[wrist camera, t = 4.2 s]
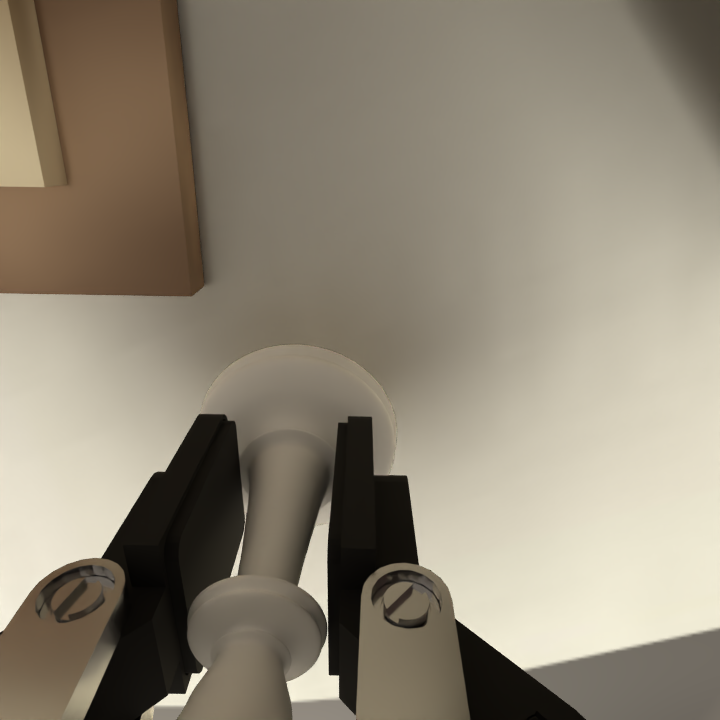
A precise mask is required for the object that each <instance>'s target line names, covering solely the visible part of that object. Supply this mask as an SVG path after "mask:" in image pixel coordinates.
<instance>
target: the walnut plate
mask: <svg viewBox="0 0 720 720" xmlns="http://www.w3.org/2000/svg"><path fill="white" fill-rule="evenodd" d="M202 287H204V276H203V266H202V256H201V245H200V235H199V225H198V214H197V204H196V194H195V183H194V173H193V163H192V153H191V142H190V132H189V122H188V111H187V101H186V91H185V80H184V70H183V60H182V50H181V39H180V29H179V19H178V8H177V0H0V293H21V294H82V295H142V296H193V295H194V294H195V293H196V292H198V291H199V290H200V289H201V288H202Z"/></svg>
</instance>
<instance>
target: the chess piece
mask: <svg viewBox="0 0 720 720" xmlns="http://www.w3.org/2000/svg"><path fill="white" fill-rule="evenodd" d="M200 414H225V415H226V416H227V419H228V421H235V423H236V429H237V440H238V451H239V461H240V473H241V483H242V493H243V504H244V512H245V513H247V515H246V524H245V532H244V539H243V548H242V554H241V560H240V565H239V570H238V576H234V577H230V578H226V579H223V580H220V581H218V582H216V583H214V584H212V585H210V586H209V587H207V588H206V589H204V590H203V591H202V592H201V593H200V594H199V595H198V596H197V597H196V598H195V600H194V601H193V603H192V605H191V607H190V609H189V613H188V618H187V626H188V629H187V639H188V644H189V647H190V649H191V651H192V653H193V655H194V656H195V658H196V659H197V660H198V661H199V662H200V663H201V664H202V665H203V666H204V667H205V668H206V669H208V671H207V672H206V674H205V675H204V676H203V678H202V679H201V680H200V682H199V683H198V684H197V686H196V687H195V689H194V690H193V692H192V694H191V696H190V697H189V699H188V701H187V703H186V705H185V707H184V709H183V710H182V712H181V714H180V715H179V717H178V718H177V720H292V707H291V701H290V696H289V692H288V688H287V683H286V682H287V681H290V680H293V679H295V678H297V677H299V676H301V675H302V674H304V673H305V672H306V671H308V670H309V669H310V668H311V667H312V666H313V665H314V664H315V662H316V661H317V659H318V657H319V655H320V652H321V649H322V647H323V645H324V643H325V640H326V636H327V622H326V618H325V615H324V613H323V611H322V609H321V607H320V606H319V604H318V603H317V602H316V600H315V599H314V598H313V597H312V596H311V595H309V594H308V593H307V592H306V591H304V590H303V589H301V588H300V587H298V583H299V579H300V575H301V571H302V567H303V563H304V560H305V556H306V553H307V550H308V546H309V543H310V539H311V536H312V533H313V530H314V526H317V525H323V524H327V523H330V511H331V500H332V488H333V476H334V465H335V453H336V442H337V430H338V422H341V423H348V416H366V417H372V430H373V462H374V475H389V473H390V471H391V468H392V465H393V461H394V455H395V448H396V441H397V425H396V419H395V414H394V411H393V408H392V405H391V403H390V401H389V399H388V397H387V395H386V393H385V392H384V390H383V389H382V387H381V386H380V385H379V383H378V382H377V381H376V380H375V379H374V378H373V376H372V375H371V374H369V373H368V372H367V371H366V370H365V369H364V368H362V367H361V366H360V365H358V364H357V363H355V362H354V361H352V360H351V359H349V358H347V357H345V356H343V355H341V354H339V353H336V352H334V351H331V350H328V349H324V348H320V347H316V346H310V345H300V344H287V345H277V346H271V347H267V348H263V349H260V350H257V351H254V352H252V353H249V354H247V355H245V356H243V357H241V358H240V359H238V360H236V361H235V362H233V363H232V364H231V365H229V366H228V367H227V368H226V369H225V370H224V371H223V372H222V373H221V374H220V375H219V376H218V377H217V378H216V380H215V381H214V382H213V384H212V385H211V387H210V388H209V390H208V392H207V394H206V396H205V399H204V402H203V405H202V409H201V413H200Z"/></svg>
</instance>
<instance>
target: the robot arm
mask: <svg viewBox="0 0 720 720" xmlns="http://www.w3.org/2000/svg"><path fill="white" fill-rule="evenodd" d="M244 524H245V515H244V504H243V493H242V483H241V473H240V461H239V451H238V440H237V429H236V423H235V421H228V419H227V416H226V415H225V414H199V415H198V416H197V418H196V420H195V421H194V423H193V425H192V427H191V428H190V430H189V432H188V433H187V435H186V437H185V439H184V440H183V442H182V444H181V445H180V447H179V449H178V451H177V452H176V454H175V456H174V458H173V459H172V461H171V463H170V464H169V466H168V468H167V470H166V471H165V472H156V473H154V474H153V476H152V477H151V478H150V480H149V481H148V483H147V485H146V486H145V488H144V490H143V491H142V493H141V494H140V496H139V498H138V499H137V501H136V503H135V504H134V506H133V507H132V509H131V511H130V512H129V514H128V516H127V517H126V519H125V520H124V522H123V524H122V525H121V527H120V529H119V530H118V532H117V533H116V535H115V537H114V538H113V540H112V542H111V543H110V545H109V546H108V548H107V550H106V551H105V553H104V555H103V556H102V558H101V559H100V558H92V559H83V560H79V561H76V562H73V563H70V564H67V565H65V566H63V567H61V568H59V569H57V570H55V571H53V572H52V573H50V574H49V575H48V576H46V577H45V578H44V579H42V580H41V581H40V582H39V583H38V584H37V585H36V586H35V587H34V589H33V590H32V591H31V592H30V593H29V595H28V596H27V598H26V599H25V601H24V602H23V604H22V605H21V606H20V608H19V609H18V611H17V612H16V614H15V615H14V617H13V618H12V620H11V621H10V623H9V624H8V625H7V627H6V628H5V630H4V631H2V632H0V720H152V718H153V713H154V705H155V704H156V703H158V702H159V701H161V700H162V699H163V698H165V697H166V696H167V695H168V694H186V691H187V687H188V684H189V681H190V678H191V675H192V673H200V672H201V671H202V669H203V665H202V664H201V663H200V662H199V661H198V660H197V659H196V658H195V656H194V655H193V653H192V651H191V649H190V647H189V644H188V639H187V629H188V626H187V618H188V613H189V609H190V607H191V605H192V603H193V601H194V600H195V598H196V597H197V596H198V595H199V594H200V593H201V592H202V591H203V590H204V589H206V588H207V587H209V586H210V585H212V584H214V583H216V582H218V581H220V580H223V579H226V578H230V576H231V572H232V569H233V566H234V562H235V559H236V556H237V552H238V549H239V545H240V542H241V539H242V535H243V531H244ZM327 567H328V647H329V675H339V698H340V699H341V700H342V701H343V703H344V704H345V705H346V706H347V707H348V708H349V709H350V710H351V711H352V712H353V713H354V714H355V715H356V720H586V719H585V718H583V716H581V715H580V714H579V713H578V712H577V711H576V710H575V709H574V708H572V707H571V706H570V705H568V704H567V703H566V702H564V701H563V700H562V699H560V698H559V697H558V696H557V695H555V694H554V693H553V692H551V691H550V690H548V689H547V688H546V687H545V686H543V685H542V684H541V683H539V682H538V681H537V680H535V679H534V678H533V677H531V676H530V675H529V674H527V673H526V672H525V671H523V670H522V669H521V668H520V667H518V666H517V665H516V664H514V663H513V662H512V661H510V660H509V659H508V658H506V657H505V656H504V655H502V654H501V653H500V652H498V651H497V650H496V649H494V648H493V647H492V646H490V645H489V644H488V643H486V642H485V641H484V640H483V639H481V638H480V637H479V636H477V635H476V634H475V633H473V632H472V631H471V630H469V629H468V628H467V627H465V626H464V625H463V624H461V623H460V622H459V621H457V620H456V619H455V615H454V609H453V602H452V598H451V595H450V592H449V589H448V587H447V586H446V584H445V583H444V582H443V580H442V579H441V578H440V577H439V576H437V575H436V574H435V573H433V572H432V571H431V570H429V569H426V568H424V567H422V566H419V563H418V555H417V547H416V540H415V532H414V524H413V516H412V508H411V501H410V493H409V485H408V479H407V476H396V475H374V462H373V430H372V417H366V416H348V423H341V422H338V430H337V442H336V453H335V465H334V476H333V488H332V500H331V511H330V523H329V534H328V557H327Z"/></svg>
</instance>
